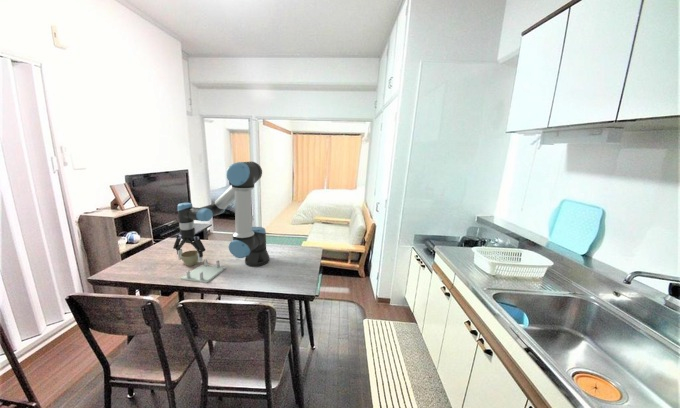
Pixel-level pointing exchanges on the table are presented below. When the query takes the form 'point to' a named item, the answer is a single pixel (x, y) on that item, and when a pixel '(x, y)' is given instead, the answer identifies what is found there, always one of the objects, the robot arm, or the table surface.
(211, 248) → the table surface
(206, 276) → the tray
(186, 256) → the tan round bowl
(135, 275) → the table surface
